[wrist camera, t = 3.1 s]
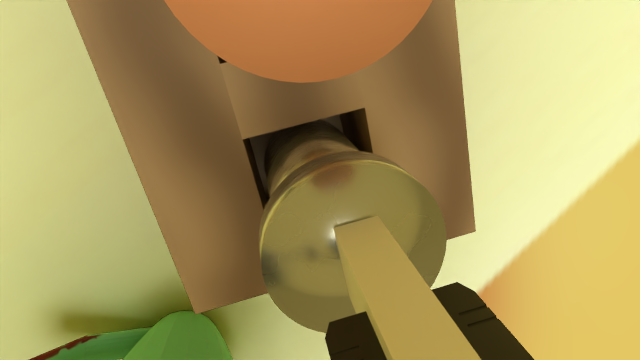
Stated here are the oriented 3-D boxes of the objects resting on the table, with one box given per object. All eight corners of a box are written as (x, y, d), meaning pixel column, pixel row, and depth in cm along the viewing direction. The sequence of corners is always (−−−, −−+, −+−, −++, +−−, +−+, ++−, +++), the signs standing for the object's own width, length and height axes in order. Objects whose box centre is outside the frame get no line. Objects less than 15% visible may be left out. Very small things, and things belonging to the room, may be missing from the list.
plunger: (268, 226, 25) (288, 355, 15) (237, 122, 23) (236, 196, 13) (371, 197, 26) (454, 303, 16) (351, 92, 23) (435, 141, 13)
